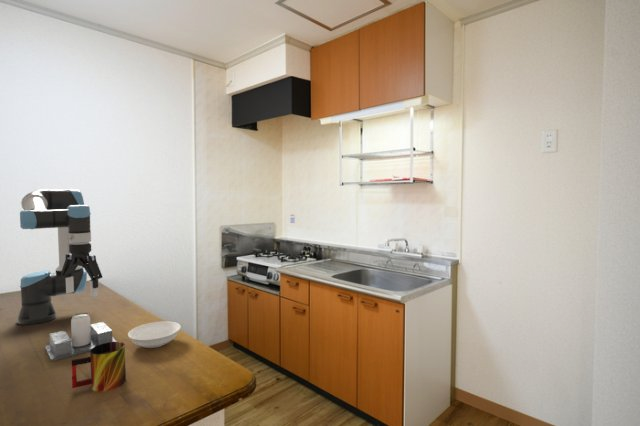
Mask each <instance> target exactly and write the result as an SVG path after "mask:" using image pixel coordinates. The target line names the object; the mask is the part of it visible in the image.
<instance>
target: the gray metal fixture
mask: <svg viewBox="0 0 640 426" xmlns="http://www.w3.org/2000/svg"><path fill="white" fill-rule="evenodd" d="M90 327H91V342H90V343H89V344H88V345H86V346H82V347H73V346H72V338H70V336H69V335H68V333H67V332H66V330H61V331H55V332H52V333H49V344H48V345H45V346H44V349H45V350H46V354H47V356H48V358H49V360H50V361H51V362H53V361H54V362H55V361H58V360H63V359H66V358H69V357H73V356H76V355H77V356H78V355H81V354H84V353H90V351H91V349H92V348H94V347H95V346H98V345H100V344H104V343H108V342H118V341H117V340H116V339H115V338H114V337H113V330H112V329H111V328H110V327H109V326H108V325H107V324H106V323H105V322H104V321H101V322H95V323H92V324H91V323H90Z"/></svg>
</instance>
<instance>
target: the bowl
mask: <svg viewBox="0 0 640 426" xmlns="http://www.w3.org/2000/svg"><path fill="white" fill-rule="evenodd" d="M181 327H182V326H181V324H179V323H178V322H174V321H164V320H163V321H154V322H148V323H144V324H141V325H138V326H136V327H133V328H132V329H130V330H129V332H128V333H127V337H128V338H129V339H130V340H131V342H132V343H133V344H134V345H136V346H139V347H143V348H145V349H146V348H147V349H153V348H154V349H155V348H159V347H162V346H164V345H167V344H168V343H170V342H171V341H172V340H174V339H175V338H176V337H177V335H178V333H179V332H180V330H181Z"/></svg>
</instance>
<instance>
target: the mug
mask: <svg viewBox="0 0 640 426" xmlns="http://www.w3.org/2000/svg"><path fill="white" fill-rule="evenodd" d="M89 355H90V356H87V357H86V356H85V357H80V358H75V359H74V358H73V359H72V360H71V375H72V376H71V382H72V383H71V384H72V385H71V386H72V389H77V388H80V387H84V386H90V385H91V389H92V391H94V392H96V393H97V392H99V393H101V392H102V393H103V392H108V391H113V390H115V389H117V388H120V387H121V386H122V385H124V384H125V382H126V381H127V377H126V374H127V373H126V345H125V343H124V342H123V341H117V342H108V343H104V344H100V345H98V346H95V347H94V348H92V349H91V351H89ZM89 363H90V375H91V377H90V378H87V379H82V380H77V379H78V378H77V366H79V365H85V364H89Z"/></svg>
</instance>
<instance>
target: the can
mask: <svg viewBox="0 0 640 426" xmlns="http://www.w3.org/2000/svg"><path fill="white" fill-rule="evenodd" d="M90 325H91V316H90V313H88V312H81V313H76V314H74V315H72V318H71V320H70V328H71V329H70V332H71V340H72V346H73V347H82V346H86V345H88V344H89V343H90V342H91V327H90Z"/></svg>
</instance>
